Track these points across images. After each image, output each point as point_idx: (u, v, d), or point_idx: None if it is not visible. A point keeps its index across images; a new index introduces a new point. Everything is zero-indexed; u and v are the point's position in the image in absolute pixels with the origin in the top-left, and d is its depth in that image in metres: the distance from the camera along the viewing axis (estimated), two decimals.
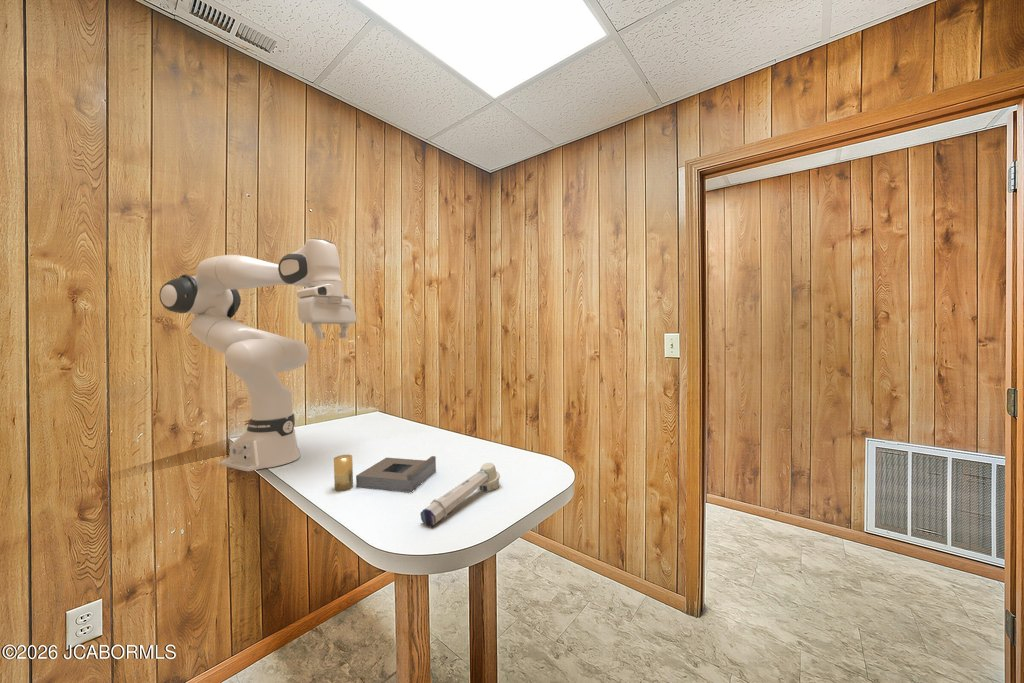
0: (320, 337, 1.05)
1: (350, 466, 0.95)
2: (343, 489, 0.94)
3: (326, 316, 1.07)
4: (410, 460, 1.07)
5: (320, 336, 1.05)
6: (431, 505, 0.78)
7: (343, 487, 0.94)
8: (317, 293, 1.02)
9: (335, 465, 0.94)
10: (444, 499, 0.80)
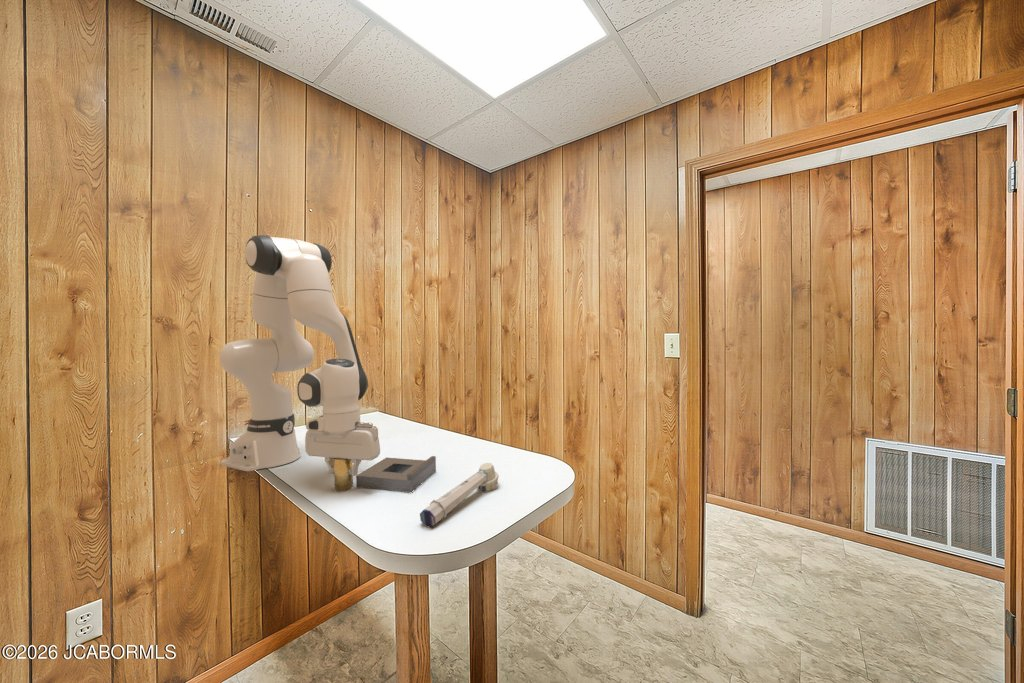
0: None
1: (350, 466, 0.95)
2: (343, 489, 0.94)
3: (326, 450, 0.95)
4: (410, 460, 1.07)
5: None
6: (430, 506, 0.78)
7: (343, 487, 0.94)
8: (308, 428, 0.94)
9: (335, 465, 0.94)
10: (443, 499, 0.80)
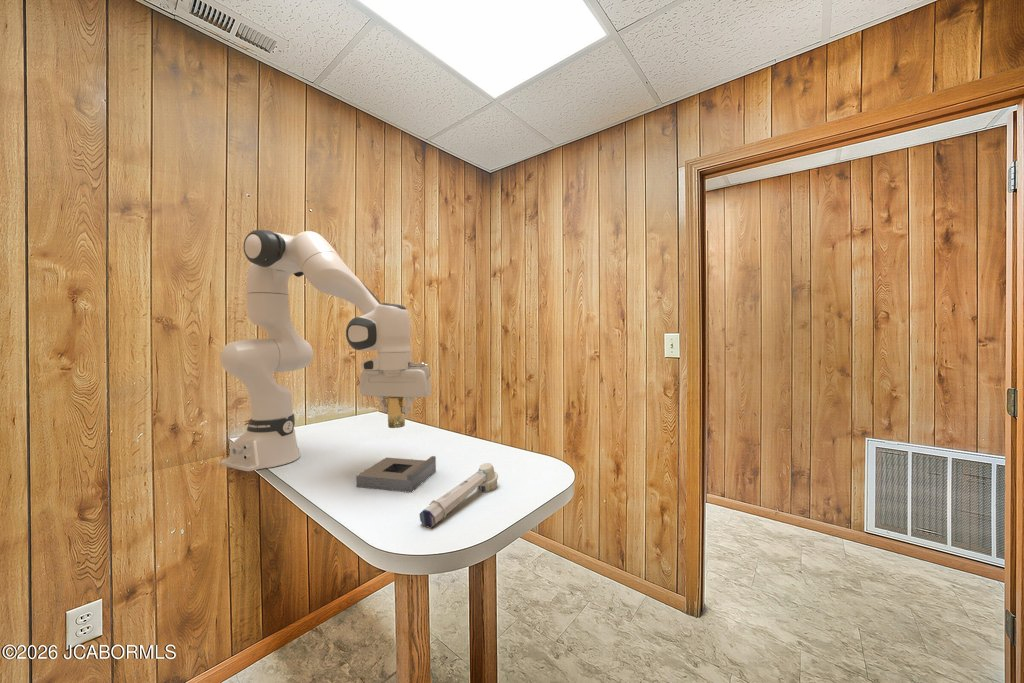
0: None
1: (403, 405, 1.00)
2: (397, 426, 0.99)
3: (380, 390, 1.00)
4: (410, 460, 1.07)
5: None
6: (430, 506, 0.78)
7: (397, 424, 0.99)
8: (363, 368, 0.99)
9: (389, 403, 0.99)
10: (443, 500, 0.80)
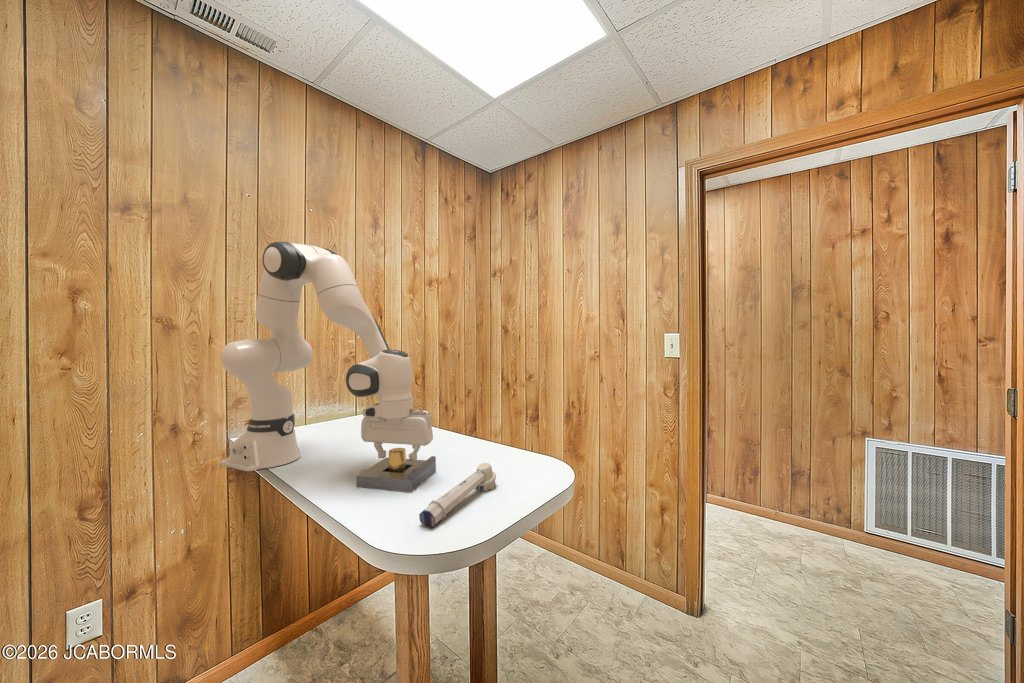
0: None
1: (404, 458, 1.01)
2: None
3: (382, 436, 1.00)
4: None
5: None
6: (430, 506, 0.78)
7: None
8: (364, 415, 1.00)
9: (390, 457, 0.99)
10: (443, 500, 0.80)
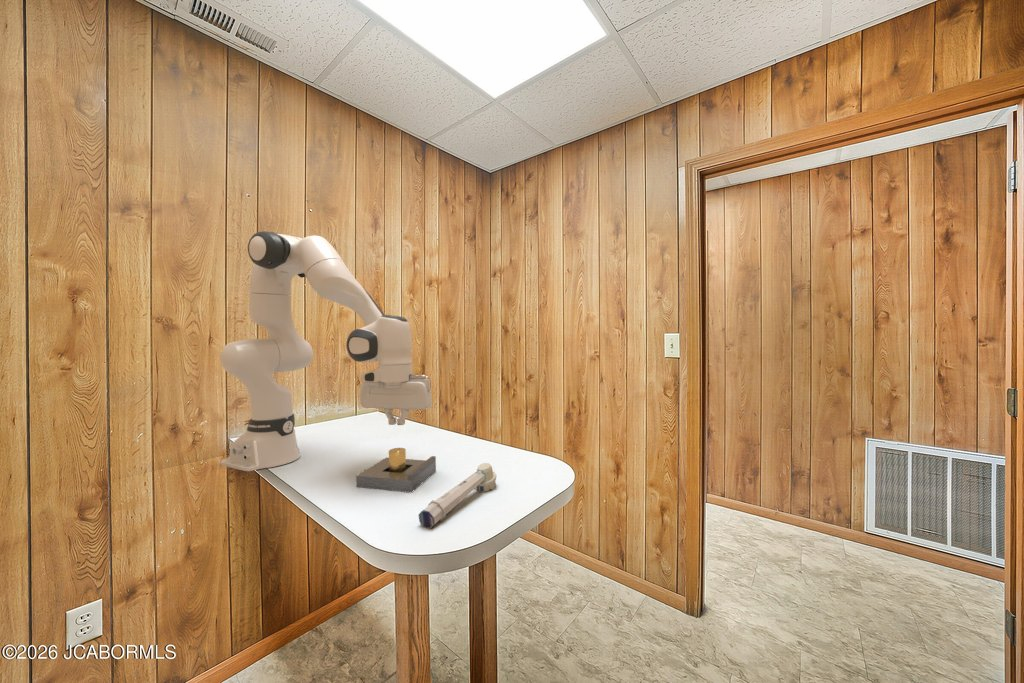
0: None
1: (404, 458, 1.01)
2: None
3: (381, 402, 1.00)
4: (410, 460, 1.07)
5: None
6: (429, 506, 0.78)
7: None
8: (363, 380, 0.99)
9: (390, 457, 0.99)
10: (442, 500, 0.80)
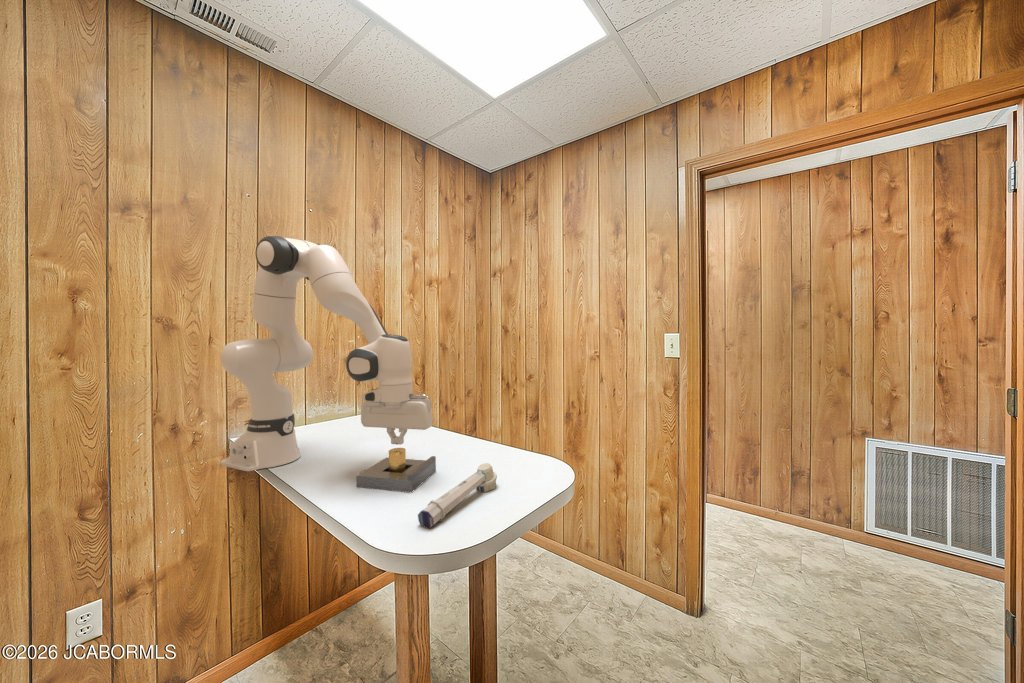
0: None
1: (404, 458, 1.01)
2: None
3: (381, 421, 1.00)
4: (410, 460, 1.07)
5: None
6: (429, 506, 0.77)
7: None
8: (364, 399, 0.99)
9: (390, 457, 0.99)
10: (442, 500, 0.79)
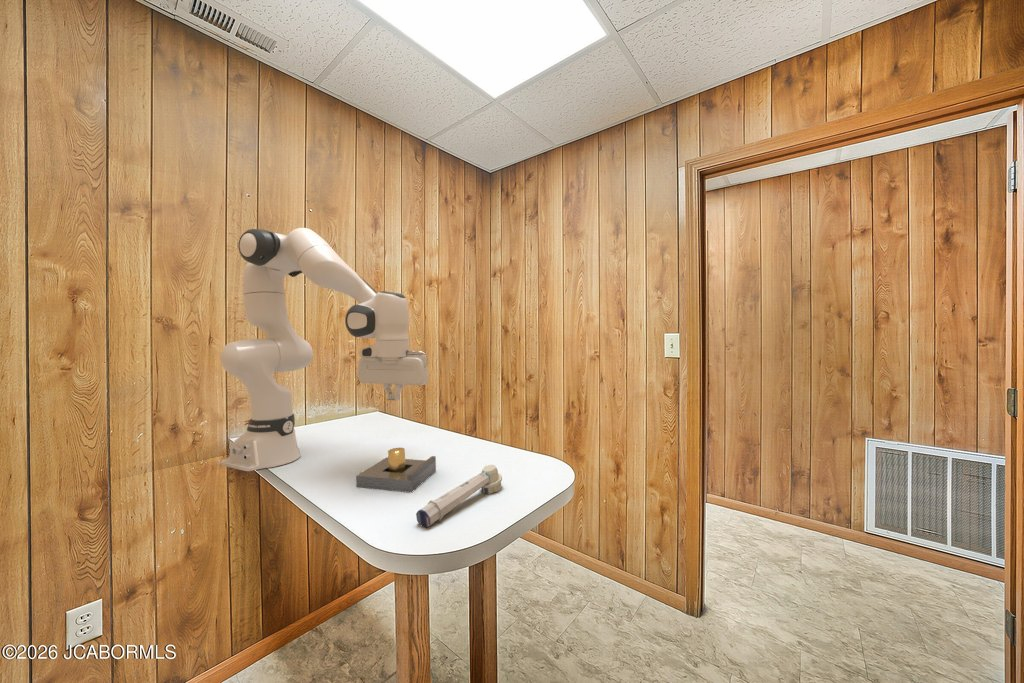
0: None
1: (404, 458, 1.01)
2: None
3: (378, 377, 1.01)
4: (410, 460, 1.07)
5: None
6: (427, 506, 0.78)
7: None
8: (361, 355, 1.00)
9: (390, 457, 0.99)
10: (441, 500, 0.79)
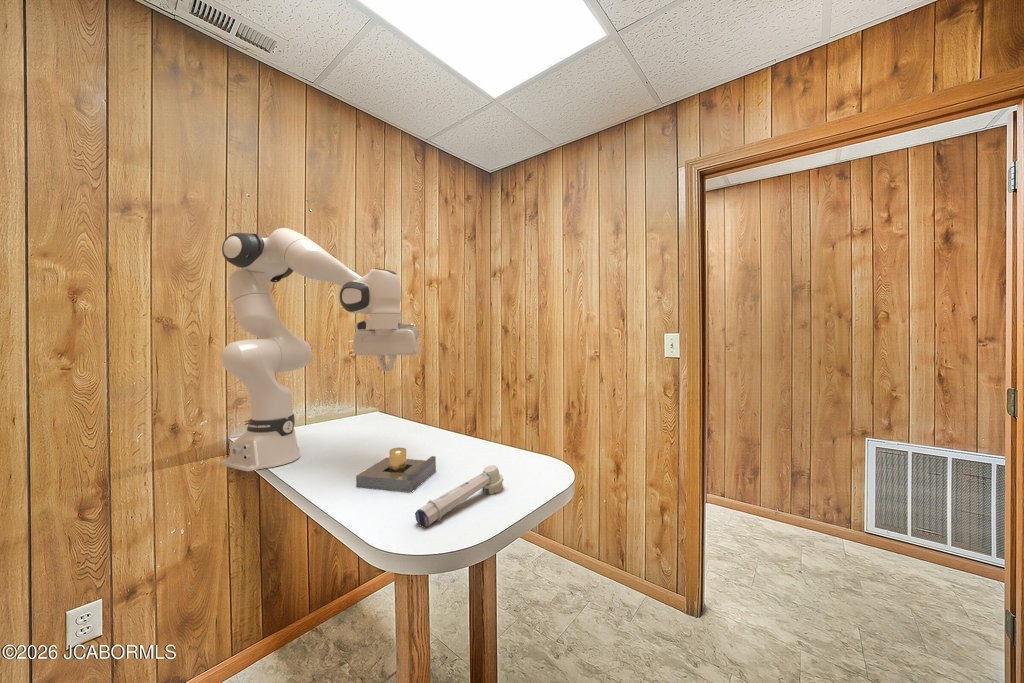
0: None
1: (405, 458, 1.01)
2: None
3: (372, 349, 1.08)
4: (410, 460, 1.07)
5: None
6: (426, 506, 0.78)
7: None
8: (356, 328, 1.07)
9: (392, 457, 0.99)
10: (440, 500, 0.79)
